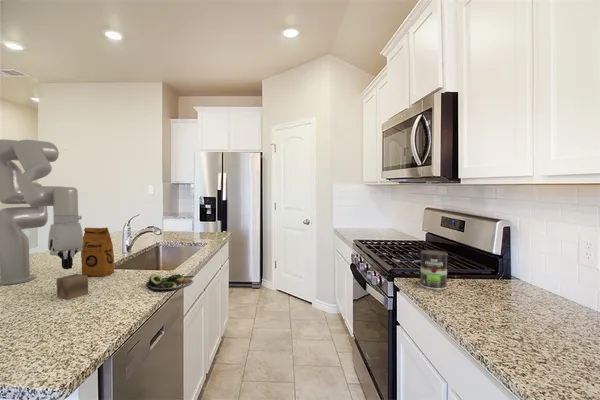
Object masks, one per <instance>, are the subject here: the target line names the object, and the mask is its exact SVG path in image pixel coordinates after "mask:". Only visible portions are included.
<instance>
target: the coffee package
mask: <svg viewBox="0 0 600 400" xmlns="http://www.w3.org/2000/svg"><path fill="white" fill-rule="evenodd" d="M83 231H84V233H83V246H82V248H83V250H82V251H80V258H81V259H80V261H81V275H86V276H88V277H89V276H90V277H107V275H108V276H110V275H113V274H114V273H115V264H114V263H115V257H114V245H113V241H112V237H111V233H110V231H109V228H108V227H84V228H83ZM112 273H113V274H112ZM109 274H110V275H109Z"/></svg>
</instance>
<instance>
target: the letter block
mask: <svg viewBox="0 0 600 400" xmlns="http://www.w3.org/2000/svg"><path fill="white" fill-rule="evenodd" d="M55 281H56V298H59V299H63V300H67V301H70V300H73V299H76V298H80V297H82V296H86V295H89V276H87V275H82V273H81V274H80V273H73V274H70V275H65V276H62V277H56V280H55Z"/></svg>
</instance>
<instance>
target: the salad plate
mask: <svg viewBox="0 0 600 400" xmlns="http://www.w3.org/2000/svg"><path fill="white" fill-rule="evenodd" d="M192 278H195V276H194V275H185V274H184V273H183V274H182V275H181V274H180V273H177V274H171V275H170V276H168V277H162V276H161V275H159V274H151V275H150V277H149V279H148V280H147V282H146V283H145V285H146V288H148V289H149V290H150V291H151V292H156V293H165V292H172V291H176V290H180V289H184V288H187V287H189V286H191V285H192V284H194V280H192ZM179 285H180V286H179Z"/></svg>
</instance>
